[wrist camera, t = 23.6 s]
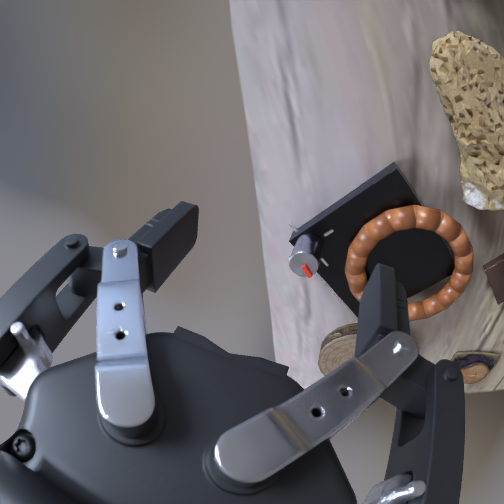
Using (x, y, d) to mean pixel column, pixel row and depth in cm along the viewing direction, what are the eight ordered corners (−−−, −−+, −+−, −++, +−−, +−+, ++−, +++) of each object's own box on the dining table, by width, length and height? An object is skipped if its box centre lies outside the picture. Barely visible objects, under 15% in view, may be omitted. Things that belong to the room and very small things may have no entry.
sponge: (516, 187, 29) (526, 41, 16) (529, 225, 24) (553, 53, 11) (431, 176, 35) (422, 26, 22) (432, 211, 31) (426, 31, 18)
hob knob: (291, 238, 41) (282, 259, 37) (314, 228, 39) (308, 249, 35) (304, 259, 42) (297, 282, 38) (328, 250, 40) (323, 272, 36)
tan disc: (410, 322, 45) (411, 336, 43) (399, 377, 53) (398, 389, 51) (317, 321, 51) (314, 334, 49) (322, 375, 59) (320, 386, 57)
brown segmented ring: (433, 175, 30) (437, 183, 28) (486, 277, 33) (490, 289, 31) (320, 248, 40) (317, 259, 38) (387, 327, 44) (387, 340, 42)
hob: (384, 149, 33) (386, 155, 30) (455, 260, 37) (459, 271, 35) (273, 229, 44) (268, 238, 42) (351, 314, 48) (350, 325, 46)
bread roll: (501, 350, 41) (504, 365, 39) (483, 376, 46) (485, 390, 43) (456, 349, 45) (459, 364, 42) (441, 375, 49) (442, 390, 46)
